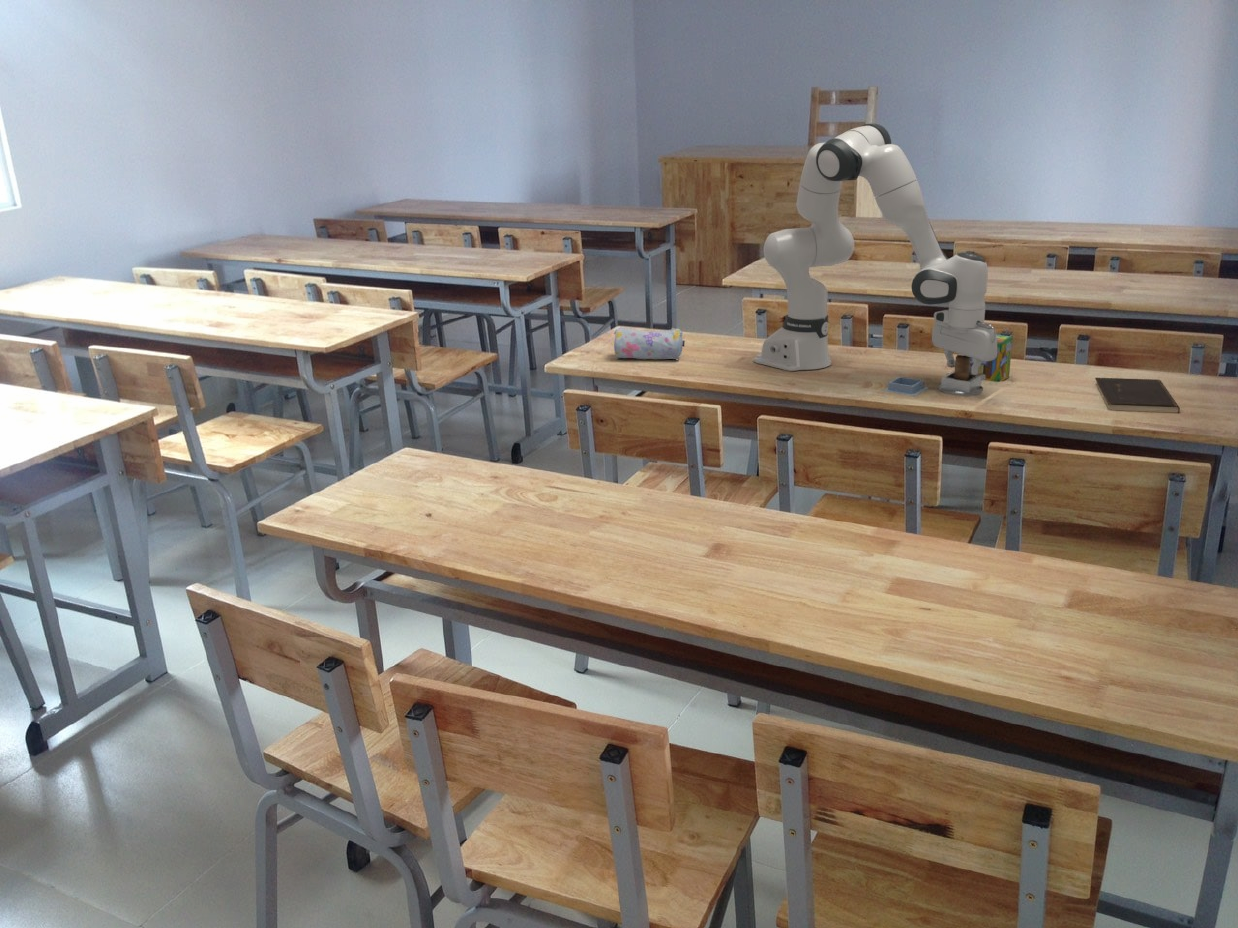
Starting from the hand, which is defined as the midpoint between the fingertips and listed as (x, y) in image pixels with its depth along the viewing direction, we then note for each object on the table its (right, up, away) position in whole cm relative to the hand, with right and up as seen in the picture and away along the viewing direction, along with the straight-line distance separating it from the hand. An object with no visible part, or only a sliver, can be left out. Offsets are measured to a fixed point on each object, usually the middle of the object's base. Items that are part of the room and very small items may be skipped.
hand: (962, 370), depth 279 cm
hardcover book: (+41, -8, -7) cm, 43 cm away
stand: (-13, -5, +4) cm, 15 cm away
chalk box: (+11, -1, +13) cm, 17 cm away
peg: (0, -4, +2) cm, 5 cm away
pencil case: (-80, +7, +46) cm, 92 cm away
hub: (0, -6, +2) cm, 6 cm away
